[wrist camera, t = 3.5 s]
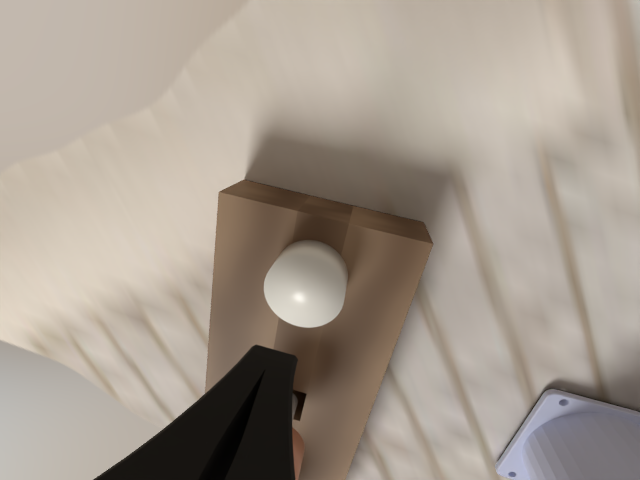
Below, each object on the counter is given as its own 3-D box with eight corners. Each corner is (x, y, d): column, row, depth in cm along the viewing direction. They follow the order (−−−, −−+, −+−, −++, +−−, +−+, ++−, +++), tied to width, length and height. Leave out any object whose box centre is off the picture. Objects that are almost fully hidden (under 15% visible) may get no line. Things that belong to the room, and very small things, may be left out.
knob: (358, 230, 17) (353, 267, 13) (343, 286, 18) (334, 336, 14) (294, 215, 17) (269, 246, 13) (285, 271, 19) (259, 315, 15)
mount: (423, 222, 17) (433, 244, 14) (330, 489, 26) (324, 533, 23) (243, 179, 17) (218, 191, 15) (216, 454, 27) (198, 493, 24)
